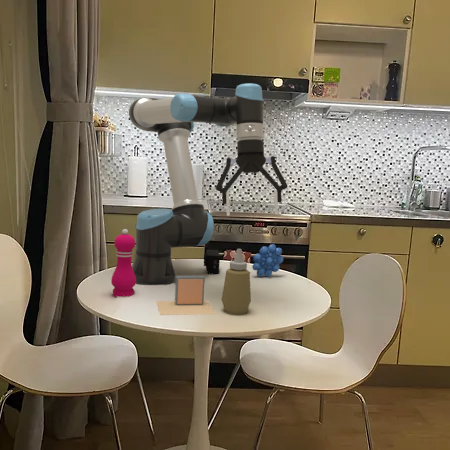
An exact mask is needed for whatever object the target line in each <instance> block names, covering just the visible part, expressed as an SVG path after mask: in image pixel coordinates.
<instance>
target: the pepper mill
mask: <svg viewBox="0 0 450 450" xmlns="http://www.w3.org/2000/svg"><path fill="white" fill-rule="evenodd" d="M121 233H122V234H118V235H116V237H115V239H114V242H113V245H114V248H115V249H116V250H115V256H116V257H117V261H116V267H115V270H114V271H113V273H112V276H111V279H110V280H111V285H112V287H114V288H113V289H112V296H113V297H114V298H117V297H131V296H133V295H134V294H135V289H134V287H135V286H136V284H137V283H136V277H135V274H134V271H133V269H132V265H133V264H132V257H133V256H134V254H133V253H134V250H133V249H135V248H136V239H135V238H134V237H133V235H131V234H129V231H128V229H127V228H124V229H122V230H121Z"/></svg>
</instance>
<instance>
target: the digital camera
mask: <svg viewBox="0 0 450 450" xmlns="http://www.w3.org/2000/svg"><path fill="white" fill-rule="evenodd" d="M220 260H221V255H220V252H219V250H218V249H206V253H204V254H203V267H205V269H206V275H217V274H219V275H220V262H221V261H220Z"/></svg>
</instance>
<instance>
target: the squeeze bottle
mask: <svg viewBox="0 0 450 450" xmlns="http://www.w3.org/2000/svg"><path fill="white" fill-rule="evenodd" d="M247 268H248V262H246V261H244V256H243V251H242V249H241V248H237V249H236V252H235V256H234V259H233V260H231V261H230V262H229V268H228V269H226V271H225V276H224V283H223V289H222V294H221V302H222V306H223V311H224V312H225V313H228V314H230V315H245V314H247V311H248V308H249V306H250V304H251V301H252V295H251V292H252V291H251V272H250V271H249V270H248V269H247Z"/></svg>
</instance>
